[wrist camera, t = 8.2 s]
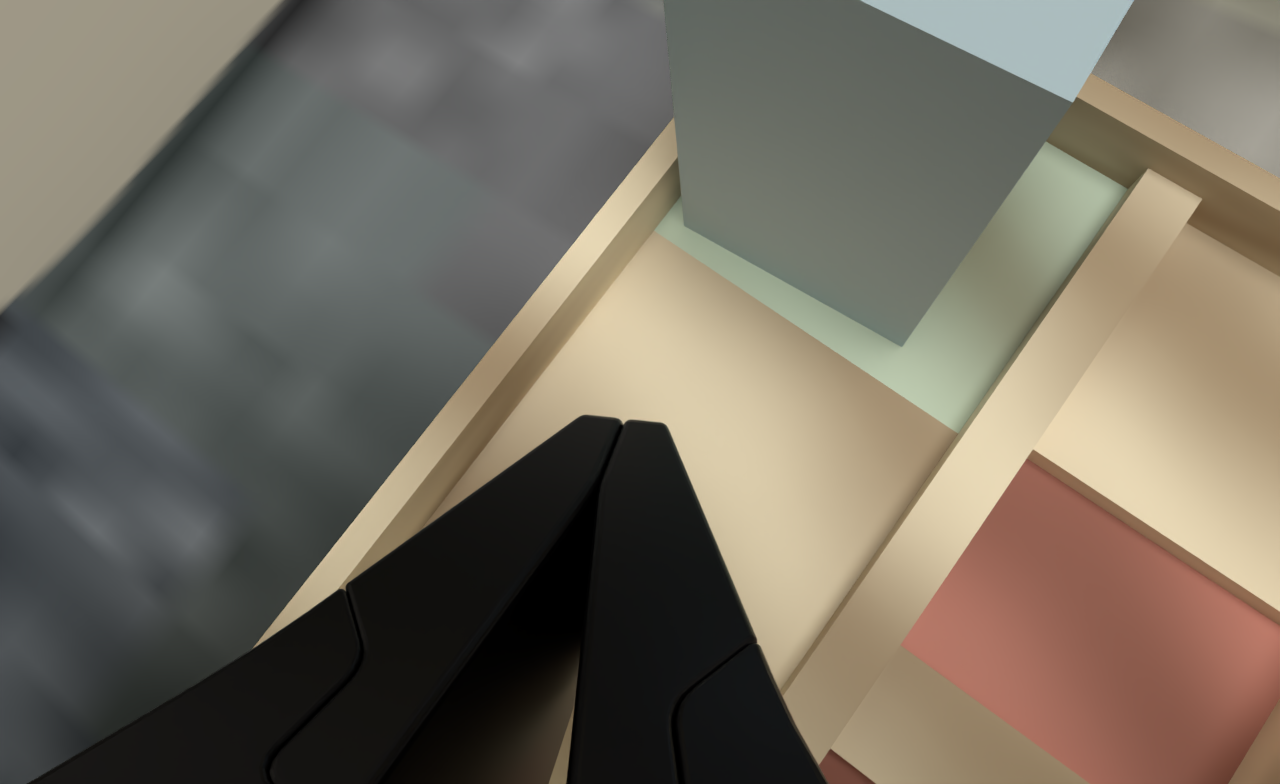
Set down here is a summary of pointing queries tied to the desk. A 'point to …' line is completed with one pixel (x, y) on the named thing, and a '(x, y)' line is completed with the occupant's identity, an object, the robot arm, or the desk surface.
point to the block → (868, 132)
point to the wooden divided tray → (948, 463)
